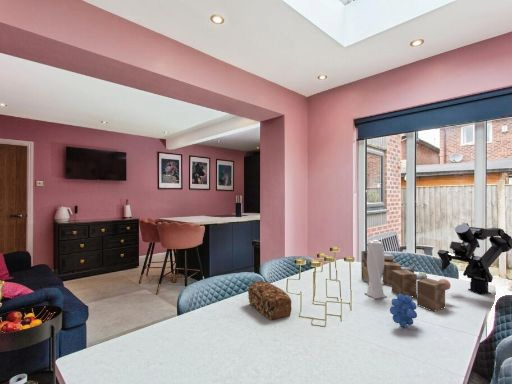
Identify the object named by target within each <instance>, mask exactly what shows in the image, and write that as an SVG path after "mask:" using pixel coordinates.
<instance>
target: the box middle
mask: <svg viewBox="0 0 512 384" xmlns="http://www.w3.org/2000/svg"><path fill="white" fill-rule="evenodd" d="M417 275H418V274H417V273H415V272H414V273H413V272H410V271H408V270H392V285H391V293H393V294H395V295H396V296H397V295H398V294H402V295H404V296H406V295H408V296H410V297H411V298H412V296H417V281H418V280H417Z"/></svg>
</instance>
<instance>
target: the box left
mask: <svg viewBox="0 0 512 384" xmlns="http://www.w3.org/2000/svg"><path fill="white" fill-rule="evenodd" d="M401 267H402V265H401V263H399V262H394V261H393V262H384V269H383V275H382V282H383V285H384V286H392V270H401Z"/></svg>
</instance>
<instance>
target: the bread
mask: <svg viewBox="0 0 512 384" xmlns="http://www.w3.org/2000/svg"><path fill="white" fill-rule="evenodd" d="M247 293H248V295H247V296H248V302H249V304H250V306H252V307H253V308H254V309H255V310H256V311H258V312H259V313H260V314H261V316H262V315H263V316H264V317H265V318H267V319H268V320H271V321H273V320H278V319H279V318H286V317H290V316H291V313H292V299H291V297H290V296H289V294H288V293H287V292H285V291H284V290H283V289H281V288H280V287H278V286H276V285H275V284H272V283H270V282H268V281H263V280H261V281H260V280H259V281H255V282H252V283H251V284H250V285H249V286H248V290H247Z"/></svg>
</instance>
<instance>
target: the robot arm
mask: <svg viewBox="0 0 512 384" xmlns="http://www.w3.org/2000/svg"><path fill="white" fill-rule="evenodd" d="M454 231H455V233H456V235H457V237H458V239H459V240H460V241H462V242H458V241H451V242H450V245H449V249H451V250H452V253H453V254H452V253H450V251H449V250H444V249H439V250H438V251H437V255H438V257H439V258H440V260H441V271H442V272H443V271H445V270H446V269H447V268H448V267H449V265H450V264H451V262H452V260H455V261H456V260H457V261H459V262H464V263H467V265H466V266H465V270H463V271H464V272H463V274H462V275H463V276H464V277H467V279H470V283H469V285H470V286H469V287H470V288H468V289H467V290H468V291H470V290H471V291H470V292H472V291H473V293H475V294H477V293H478V294H477V295H492V292H490V291H489V283H492V282H493V280H494V279H493V278H494V277H493V275H492V274H491V272H490V267H491V266H492V265H493V264H494V263H495V261H496V260H497V259H498V258H499V257H500V256H501V255H502V253H507V252H510V251H511V250H512V236H510V235H509V234H508V233H506V231H504V229H502V228H498V227H490V228H484V227H475V226H474V227H473V226H470V225H469V223H468V222H467V223H466V222H462V224H459V225H457V226H455V228H454ZM488 238H489V239H488ZM486 239H488V241H489V242H490V245H491V246H490V247H489V248H488V250H486V251H485V252H484V253H483V254H482V256H478V255H475V251H476V249H478V248H479V249H480V242H479V241H485V240H486Z"/></svg>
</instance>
